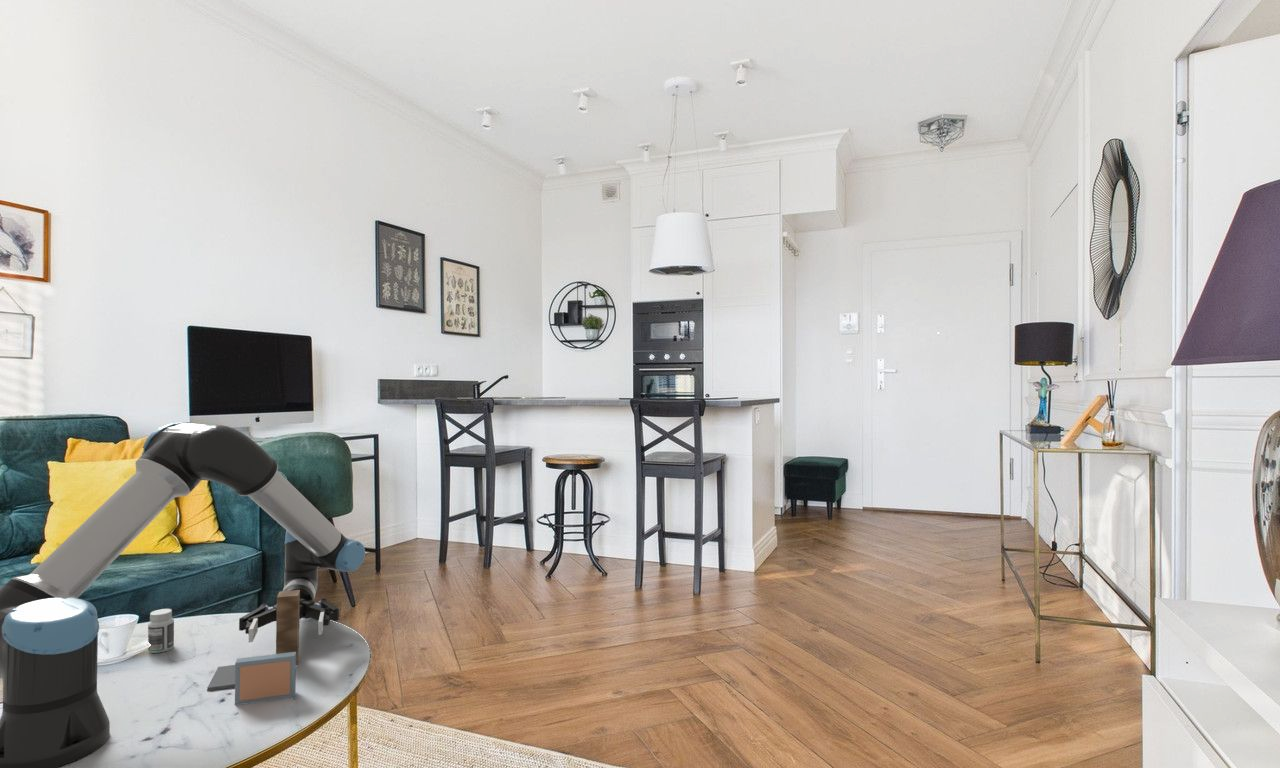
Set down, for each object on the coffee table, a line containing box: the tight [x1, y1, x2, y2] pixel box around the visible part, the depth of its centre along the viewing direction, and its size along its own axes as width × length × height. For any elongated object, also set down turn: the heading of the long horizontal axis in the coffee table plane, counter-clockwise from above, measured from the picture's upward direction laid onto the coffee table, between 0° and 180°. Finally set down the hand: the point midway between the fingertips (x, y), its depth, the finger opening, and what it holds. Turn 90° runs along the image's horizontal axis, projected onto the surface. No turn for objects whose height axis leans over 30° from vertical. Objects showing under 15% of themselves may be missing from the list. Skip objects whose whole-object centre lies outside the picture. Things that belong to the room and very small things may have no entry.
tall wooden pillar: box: [275, 590, 300, 666], centre depth 144 cm, size 4×4×15 cm
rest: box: [206, 664, 235, 692], centre depth 137 cm, size 10×10×1 cm
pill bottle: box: [147, 608, 175, 654], centre depth 150 cm, size 5×5×8 cm
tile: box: [234, 652, 297, 706], centre depth 128 cm, size 10×2×8 cm, turn 112°
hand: (286, 632), depth 141 cm, fingers open, 12 cm apart
